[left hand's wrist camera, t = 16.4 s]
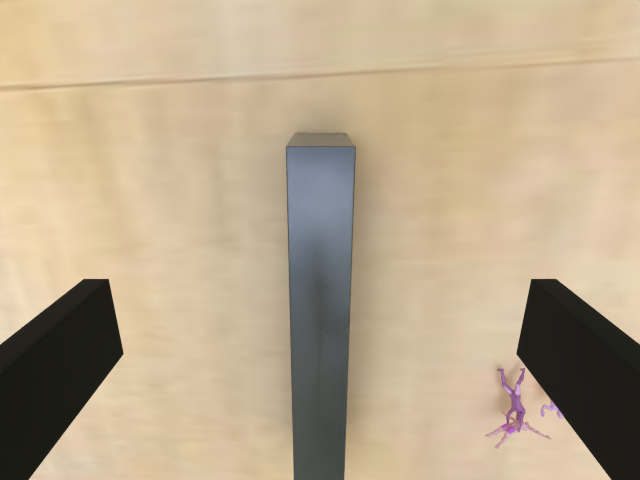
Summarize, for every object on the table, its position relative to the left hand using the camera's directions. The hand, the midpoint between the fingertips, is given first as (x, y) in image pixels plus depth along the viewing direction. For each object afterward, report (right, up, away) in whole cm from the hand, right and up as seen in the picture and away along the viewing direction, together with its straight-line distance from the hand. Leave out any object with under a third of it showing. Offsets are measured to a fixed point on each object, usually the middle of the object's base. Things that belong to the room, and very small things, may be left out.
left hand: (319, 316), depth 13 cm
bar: (0, -4, +28) cm, 28 cm away
